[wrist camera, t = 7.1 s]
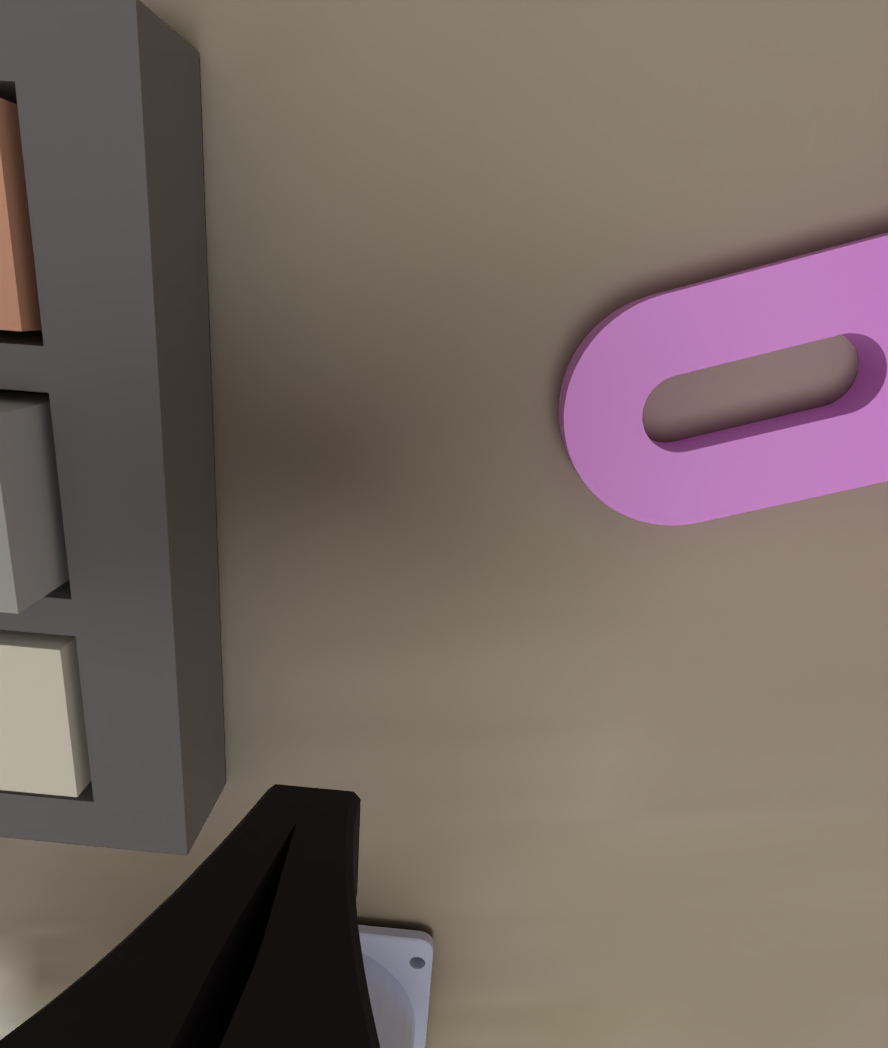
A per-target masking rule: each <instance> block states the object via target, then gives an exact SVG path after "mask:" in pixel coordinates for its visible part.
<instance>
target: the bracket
mask: <svg viewBox="0 0 888 1048" xmlns="http://www.w3.org/2000/svg"><path fill="white" fill-rule="evenodd" d="M837 335H843V336H845V337H846V338H848V339H849V340H850V341H851V343H852V344H853V345H854V347H855V349H856V351H857V354H858V361H859V366H858V372H857V376H856V378H855V381H854V383H853V384H852V386H851V387H850V389H849V390H848V391H847V392H846V393H845V394H844V395H843V396H842V397H841V398H840V399H838V400H837V401H835V402H833V403H831V404H828V405H826V406H822V407H818V408H813V409H809V410H805V411H801V412H796V413H792V414H788V415H784V416H780V417H775V418H771V419H767V420H763V421H758V422H754V423H750V424H746V425H742V426H737V427H733V428H729V429H725V430H720V431H716V432H712V433H708V434H703V435H699V436H695V437H691V438H687V439H682V440H678V441H674V442H657V441H654V440H651V439H649V437H648V436H647V434H646V432H645V430H644V427H643V421H642V413H643V408H644V404H645V402H646V399H647V397H648V396H649V394H650V393H651V391H652V390H653V389H654V388H655V387H656V386H657V385H658V384H660V383H661V382H662V381H664V380H666V379H668V378H670V377H673V376H676V375H680V374H684V373H688V372H692V371H696V370H700V369H704V368H708V367H712V366H716V365H720V364H724V363H728V362H732V361H736V360H740V359H745V358H749V357H753V356H757V355H761V354H765V353H769V352H773V351H777V350H781V349H785V348H789V347H793V346H797V345H801V344H805V343H809V342H813V341H817V340H821V339H825V338H829V337H833V336H837ZM558 416H559V427H560V432H561V436H562V440H563V443H564V446H565V449H566V451H567V453H568V456H569V458H570V460H571V462H572V463H573V465H574V467H575V469H576V471H577V472H578V474H579V475H580V477H581V479H582V480H583V482H584V483H585V484H586V485H587V487H588V488H589V489H590V490H591V491H592V492H593V493H594V494H595V495H596V496H597V497H598V498H599V499H600V500H601V501H602V502H604V503H605V504H606V505H607V506H609V507H611V508H612V509H614V510H615V511H617V512H619V513H621V514H623V515H625V516H627V517H630V518H632V519H635V520H638V521H642V522H646V523H650V524H657V525H672V526H676V525H688V524H694V523H700V522H704V521H709V520H713V519H718V518H722V517H727V516H732V515H736V514H741V513H745V512H750V511H754V510H759V509H763V508H768V507H772V506H777V505H781V504H786V503H790V502H795V501H799V500H804V499H809V498H813V497H818V496H822V495H827V494H831V493H836V492H840V491H845V490H849V489H854V488H858V487H863V486H867V485H872V484H877V483H881V482H886V481H888V232H887V233H883V234H879V235H875V236H872V237H868V238H864V239H860V240H856V241H853V242H849V243H845V244H841V245H838V246H834V247H830V248H826V249H822V250H819V251H815V252H811V253H807V254H804V255H800V256H796V257H792V258H788V259H785V260H781V261H777V262H773V263H770V264H766V265H762V266H758V267H755V268H751V269H747V270H743V271H739V272H736V273H732V274H728V275H724V276H721V277H717V278H713V279H709V280H705V281H702V282H698V283H694V284H690V285H687V286H683V287H679V288H675V289H671V290H668V291H664V292H660V293H656V294H653V295H649V296H646V297H643V298H640V299H637V300H635V301H633V302H630V303H628V304H626V305H624V306H622V307H621V308H619V309H617V310H615V311H614V312H613V313H611V314H610V315H608V316H607V317H606V318H604V319H603V320H602V321H601V322H600V323H599V324H598V325H596V326H595V327H594V328H593V329H592V330H591V332H590V333H589V334H588V335H587V336H586V337H585V339H584V340H583V341H582V343H581V344H580V345H579V347H578V348H577V350H576V352H575V353H574V355H573V357H572V358H571V361H570V363H569V365H568V367H567V369H566V372H565V375H564V378H563V381H562V386H561V390H560V396H559V411H558Z"/></svg>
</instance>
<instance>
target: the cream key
mask: <svg viewBox="0 0 888 1048" xmlns="http://www.w3.org/2000/svg"><path fill="white" fill-rule="evenodd" d="M90 781H91V772H90V763H89V754H88V745H87V736H86V727H85V718H84V709H83V700H82V690H81V681H80V672H79V663H78V654H77V645H76V636H66V635H55V634H44V633H32V632H21V631H10V630H0V790H6V791H17V792H27V793H38V794H48V795H58V796H69V797H78V796H79V795H80V794H81V792H82V791H83V790H84V789H85V787H86V786H87V785H88V784H89V783H90Z"/></svg>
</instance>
